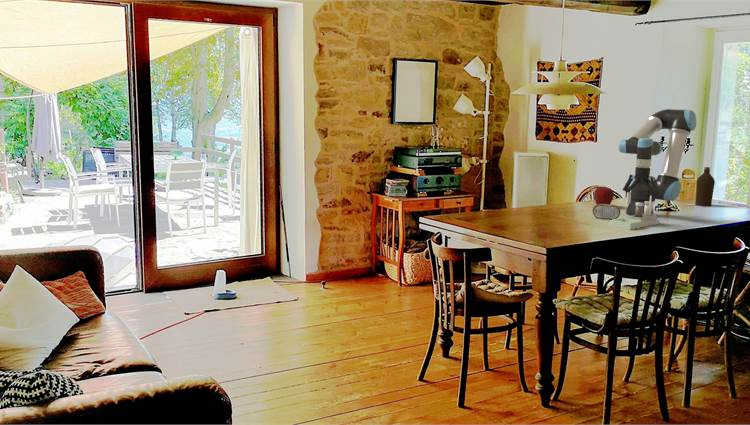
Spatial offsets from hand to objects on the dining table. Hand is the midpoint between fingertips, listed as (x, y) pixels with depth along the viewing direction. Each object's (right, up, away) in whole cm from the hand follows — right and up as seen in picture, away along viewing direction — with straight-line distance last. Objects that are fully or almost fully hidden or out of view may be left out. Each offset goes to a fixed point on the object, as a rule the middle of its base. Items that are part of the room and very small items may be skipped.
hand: (639, 205), depth 372 cm
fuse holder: (+4, -10, +5) cm, 11 cm away
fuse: (+7, -7, +7) cm, 13 cm away
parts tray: (-9, -11, -5) cm, 15 cm away
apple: (0, 0, +60) cm, 60 cm away
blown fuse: (0, -8, +2) cm, 8 cm away
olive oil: (+71, +1, +75) cm, 103 cm away
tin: (-12, -8, +18) cm, 23 cm away
